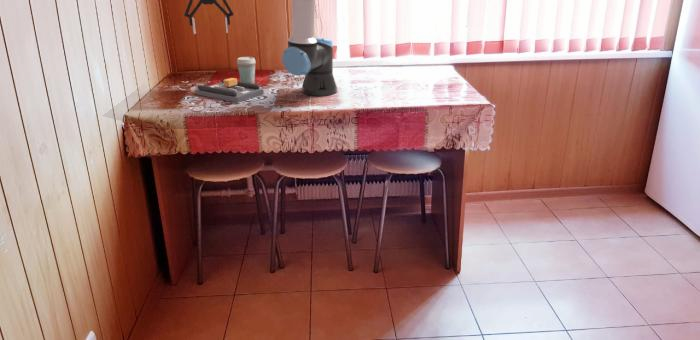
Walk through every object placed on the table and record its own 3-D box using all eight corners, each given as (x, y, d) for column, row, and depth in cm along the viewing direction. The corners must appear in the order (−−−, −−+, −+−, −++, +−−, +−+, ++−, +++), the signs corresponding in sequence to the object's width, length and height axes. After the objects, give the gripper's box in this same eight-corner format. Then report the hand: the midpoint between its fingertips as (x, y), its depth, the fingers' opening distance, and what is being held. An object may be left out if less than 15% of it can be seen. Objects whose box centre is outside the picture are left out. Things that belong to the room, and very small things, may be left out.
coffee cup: (253, 87, 230) (251, 60, 226) (235, 86, 232) (233, 59, 227) (260, 82, 238) (258, 56, 233) (242, 82, 240) (240, 56, 235)
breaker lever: (237, 88, 219) (236, 78, 218) (229, 91, 215) (228, 80, 214) (232, 87, 221) (231, 77, 219) (224, 90, 217) (223, 80, 215)
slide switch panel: (263, 93, 220) (263, 86, 219) (237, 102, 207) (237, 94, 206) (222, 86, 231) (221, 79, 230) (195, 94, 219) (194, 86, 218)
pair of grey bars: (259, 88, 220) (259, 84, 219) (233, 96, 207) (233, 92, 207) (223, 82, 230) (223, 78, 229) (196, 89, 218) (196, 85, 217)
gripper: (236, -20, 220) (240, 31, 228) (175, -20, 214) (181, 32, 223) (236, -19, 213) (240, 33, 221) (173, -19, 208) (180, 35, 216)
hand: (211, 33), depth 222 cm, fingers open, 13 cm apart
